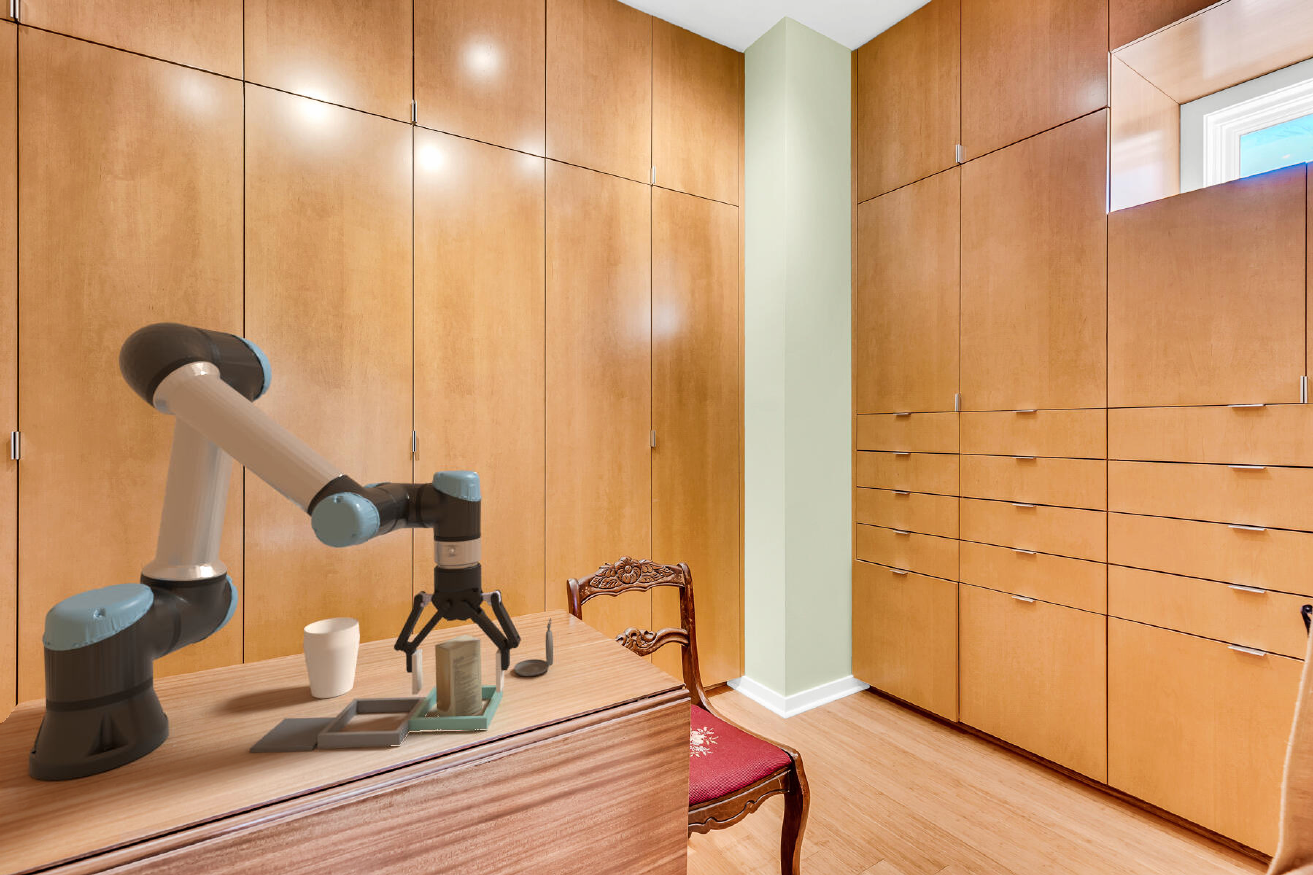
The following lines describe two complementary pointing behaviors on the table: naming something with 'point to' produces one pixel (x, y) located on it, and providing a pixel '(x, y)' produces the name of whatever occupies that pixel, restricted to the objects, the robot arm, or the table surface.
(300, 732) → the slate mat
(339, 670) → the cup
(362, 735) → the grey frame
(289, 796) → the table surface
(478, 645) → the skincare box
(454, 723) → the teal frame
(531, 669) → the pocket watch
